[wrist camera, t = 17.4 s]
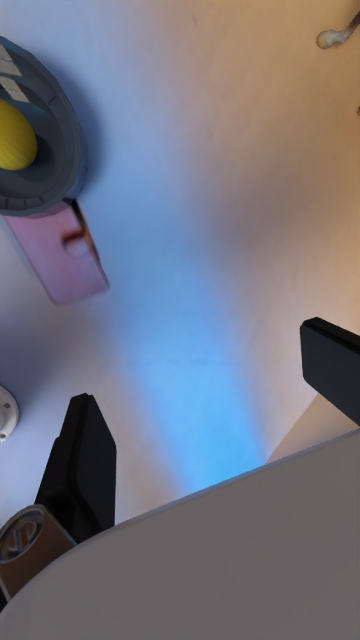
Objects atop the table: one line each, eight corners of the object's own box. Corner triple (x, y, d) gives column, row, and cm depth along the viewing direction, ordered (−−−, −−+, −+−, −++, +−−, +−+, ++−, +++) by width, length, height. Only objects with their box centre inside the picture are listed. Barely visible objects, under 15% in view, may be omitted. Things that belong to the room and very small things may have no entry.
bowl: (-14, 230, 30) (-42, 230, 25) (-86, 80, 25) (-139, 43, 20) (104, 204, 32) (100, 199, 27) (60, 59, 27) (45, 19, 22)
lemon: (-11, 110, 26) (-63, 64, 19) (47, 127, 28) (20, 91, 20) (-11, 169, 28) (-58, 147, 21) (45, 182, 29) (18, 167, 22)
